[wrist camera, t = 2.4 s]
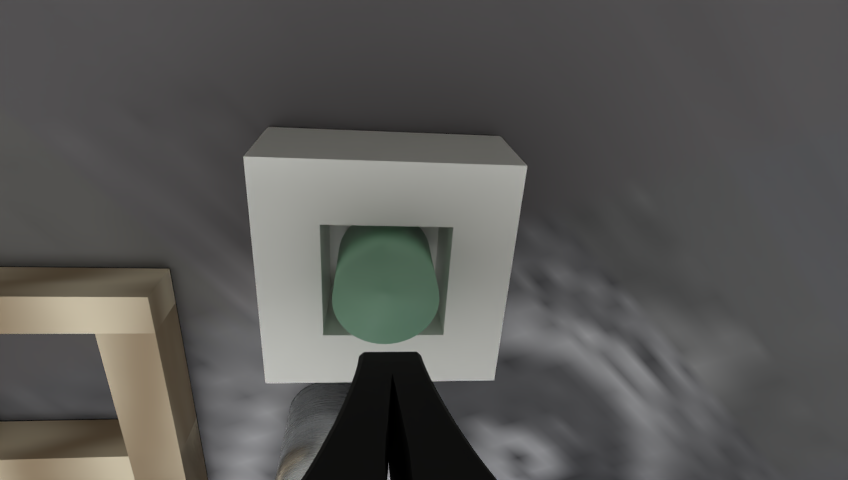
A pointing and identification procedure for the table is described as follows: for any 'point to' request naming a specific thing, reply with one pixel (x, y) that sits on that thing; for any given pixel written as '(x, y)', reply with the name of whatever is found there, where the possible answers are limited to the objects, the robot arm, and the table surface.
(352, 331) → the button
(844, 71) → the table surface
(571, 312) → the table surface
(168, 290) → the board
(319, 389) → the cylinder
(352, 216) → the button box
